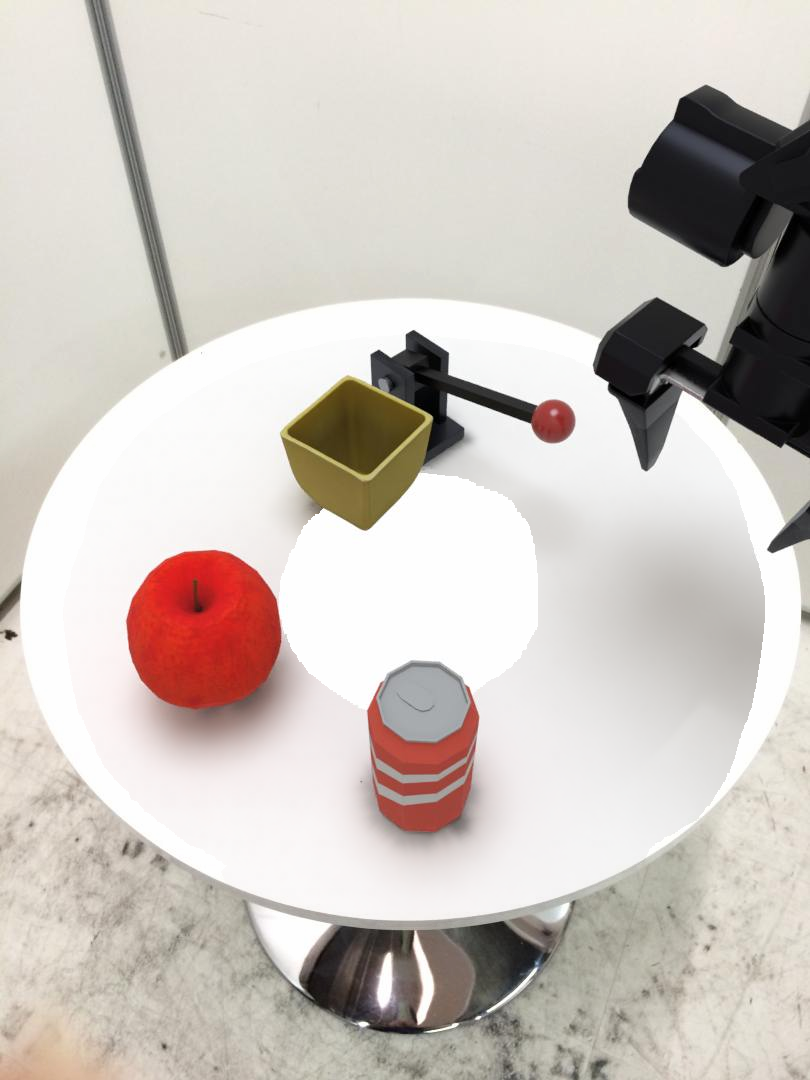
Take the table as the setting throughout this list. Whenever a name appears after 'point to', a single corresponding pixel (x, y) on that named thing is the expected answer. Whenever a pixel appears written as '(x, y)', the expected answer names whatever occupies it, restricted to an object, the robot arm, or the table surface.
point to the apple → (203, 629)
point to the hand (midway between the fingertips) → (708, 506)
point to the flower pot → (357, 450)
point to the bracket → (419, 390)
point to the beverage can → (422, 745)
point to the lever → (494, 399)
